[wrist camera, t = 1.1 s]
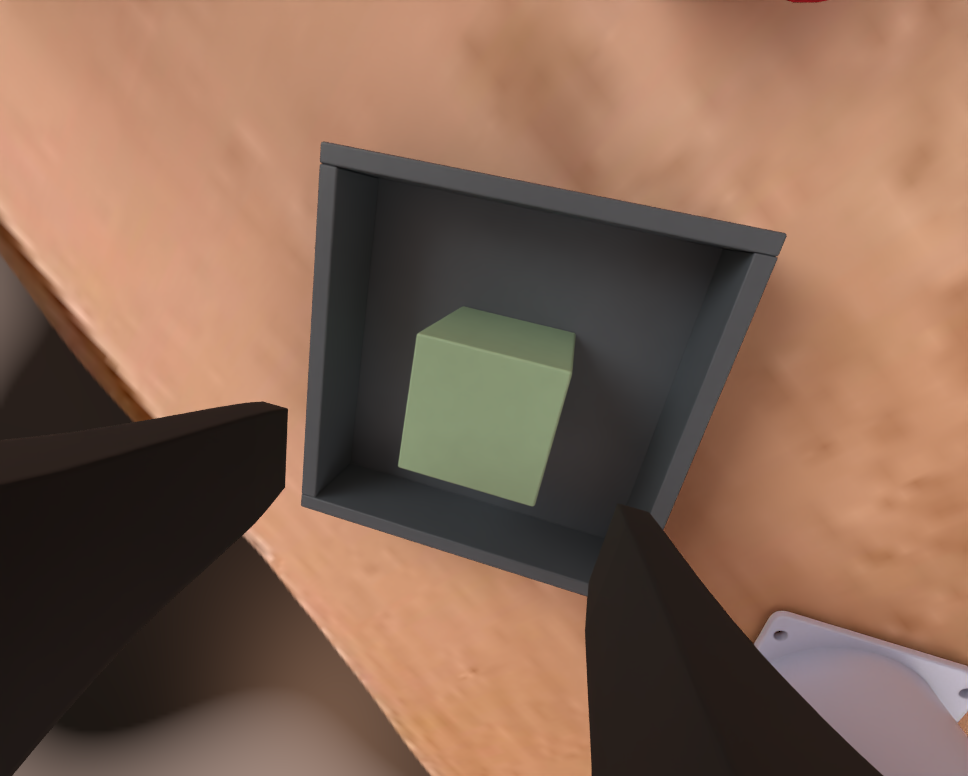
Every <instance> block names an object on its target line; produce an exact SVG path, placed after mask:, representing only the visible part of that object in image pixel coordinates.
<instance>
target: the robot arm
mask: <svg viewBox="0 0 968 776" xmlns="http://www.w3.org/2000/svg"><path fill="white" fill-rule="evenodd" d="M287 419H288V409H287V408H284V407H280V406H277V405H273V404H270V403H266V402H251V403H242V404H235V405H229V406H223V407H217V408H211V409H206V410H200V411H195V412H189V413H184V414H178V415H173V416H167V417H162V418H157V419H151V420H145V421H139V422H133V423H128V424H120V425H115V426H108V427H102V428H96V429H89V430H83V431H77V432H69V433H61V434H53V435H45V436H37V437H27V438H17V439H8V440H0V776H12V775H13V774H14V773H15V771H16V770H17V769H18V768H19V767H20V766H21V764H22V763H23V762H24V761H25V760H26V758H27V757H28V756H29V755H30V753H31V752H32V751H33V750H34V748H35V747H36V746H37V745H38V744H39V743H40V741H41V740H42V739H43V738H44V737H45V735H46V734H47V733H48V732H49V731H50V730H51V729H52V728H53V726H54V725H55V724H56V723H57V722H58V721H59V720H60V718H61V717H62V716H63V715H64V714H65V712H67V710H68V709H69V708H70V707H71V706H72V705H73V703H74V702H75V701H76V700H77V699H78V698H79V697H80V696H81V694H82V693H83V692H84V691H85V690H86V689H87V688H88V686H89V685H90V684H91V683H92V682H93V681H94V680H95V678H96V677H97V676H98V675H99V674H100V673H101V672H102V671H103V670H104V669H105V667H107V665H108V664H109V663H110V662H111V661H112V660H113V659H114V658H115V657H116V655H118V654H119V652H120V651H121V650H122V649H123V648H124V647H125V646H126V645H127V644H128V643H129V642H130V641H131V640H132V638H133V637H134V636H135V635H136V634H137V633H138V632H139V631H140V630H141V628H143V627H144V626H145V625H146V624H147V623H148V622H149V621H150V620H151V619H152V618H153V617H154V616H155V615H156V614H157V613H158V612H159V611H160V610H161V609H162V608H163V607H164V606H165V605H166V604H167V603H169V602H170V601H171V600H172V599H173V598H174V597H175V596H176V595H177V594H178V593H180V592H181V591H182V590H183V589H184V588H185V587H186V586H187V585H188V584H189V583H191V582H192V581H193V580H194V579H195V578H196V577H197V576H198V575H199V574H201V573H202V572H203V571H204V570H205V569H206V568H207V567H208V566H209V565H210V564H212V563H213V562H214V561H215V560H216V559H217V558H218V557H219V556H220V555H222V554H223V552H225V551H226V550H227V549H228V548H229V547H230V546H231V545H232V544H233V543H235V542H236V541H237V540H238V539H239V538H240V537H241V536H242V535H243V534H244V533H245V532H246V531H247V530H248V529H250V528H251V527H252V526H253V525H254V524H255V523H256V522H257V520H258V519H259V518H260V517H261V516H262V515H263V514H264V512H265V511H266V510H267V509H268V508H269V507H270V505H271V504H272V503H273V502H274V500H275V499H276V498H277V497H278V495H279V494H280V493H281V492H282V490H283V489H284V488H285V472H286V446H287ZM776 631H782V632H779V633H775V632H776ZM585 639H586V663H587V683H588V703H589V723H590V742H591V762H592V776H968V736H967V735H966V734H965V732H964V731H963V730H962V728H961V727H960V726H959V724H958V722H959V720H960V719H961V718H962V717H963V716H964V715H965V714H966V713H967V711H968V666H966V665H963V664H960V663H957V662H953V661H950V660H947V659H943V658H940V657H937V656H933V655H930V654H927V653H924V652H920V651H917V650H914V649H910V648H907V647H904V646H900V645H897V644H894V643H891V642H887V641H884V640H881V639H877V638H874V637H871V636H867V635H864V634H861V633H858V632H854V631H851V630H848V629H844V628H841V627H838V626H834V625H831V624H828V623H825V622H821V621H818V620H815V619H811V618H808V617H805V616H801V615H798V614H795V613H792V612H788V611H776V612H774V613H773V614H772V615H771V616H770V617H769V619H768V620H767V622H766V624H765V626H764V627H763V629H762V631H761V632H760V634H759V636H758V638H757V639H756V641H755V643H754V644H753V643H752V642H751V641H750V640H749V638H748V637H747V636H746V635H745V634H744V633H743V631H742V630H741V629H740V628H739V627H738V626H737V624H736V623H735V622H734V621H733V620H732V619H731V618H730V616H729V615H728V614H727V613H726V611H725V610H724V609H723V608H722V607H721V605H720V604H719V603H718V602H717V600H716V599H715V598H714V597H713V595H712V594H711V593H710V592H709V590H708V589H707V588H706V587H705V585H704V584H703V583H702V581H701V580H700V579H699V578H698V576H697V575H696V574H695V572H694V571H693V570H692V568H691V567H690V566H689V564H688V563H687V562H686V560H685V559H684V558H683V556H682V555H681V554H680V552H679V551H678V550H677V548H676V547H675V546H674V544H673V543H672V542H671V540H670V539H669V537H668V536H667V535H666V533H665V532H664V531H663V529H662V528H661V527H660V525H659V524H658V523H657V521H656V520H655V519H654V518H653V516H652V515H651V514H650V513H649V512H647V511H643V510H640V509H636V508H633V507H629V506H626V505H622V504H619V503H617V506H616V509H615V511H614V514H613V517H612V520H611V522H610V525H609V528H608V531H607V533H606V536H605V539H604V542H603V544H602V547H601V550H600V553H599V555H598V558H597V561H596V563H595V566H594V569H593V572H592V574H591V577H590V580H589V585H588V597H587V610H586V626H585Z"/></svg>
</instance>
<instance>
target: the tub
mask: <svg viewBox="0 0 968 776" xmlns="http://www.w3.org/2000/svg"><path fill="white" fill-rule="evenodd" d="M320 162H321V163H322V164H320V172H319V190H318V208H317V227H316V245H315V263H314V281H313V300H312V318H311V336H310V355H309V373H308V391H307V409H306V428H305V446H304V464H303V482H302V493H303V494H302V499H301V506H303V507H306V508H309V509H312V510H316V511H319V512H322V513H325V514H328V515H331V516H334V517H338V518H341V519H344V520H347V521H350V522H353V523H357V524H360V525H363V526H366V527H369V528H372V529H376V530H379V531H382V532H385V533H388V534H391V535H395V536H398V537H401V538H404V539H407V540H410V541H413V542H417V543H420V544H423V545H426V546H429V547H432V548H436V549H439V550H442V551H445V552H448V553H451V554H455V555H458V556H461V557H464V558H467V559H470V560H474V561H477V562H480V563H483V564H486V565H489V566H492V567H496V568H499V569H502V570H505V571H508V572H511V573H515V574H518V575H521V576H524V577H527V578H530V579H534V580H537V581H540V582H543V583H546V584H549V585H553V586H556V587H559V588H562V589H565V590H568V591H571V592H575V593H578V594H581V595H584V596H587V597H588V585H589V580H590V577H591V574H592V572H593V569H594V566H595V563H596V561H597V558H598V555H599V553H600V550H601V547H602V544H603V542H604V539H605V536H606V533H607V531H608V528H609V525H610V522H611V520H612V517H613V514H614V511H615V509H616V506H617V503H619V504H622V505H626V506H629V507H633V508H636V509H640V510H643V511H647V512H649V513H650V514H651V515H652V516H653V518H654V519H655V520H656V521H657V523H658V524H659V525H660V527H661V528H662V529H664V527H665V525H666V522H667V520H668V517H669V515H670V513H671V510H672V508H673V506H674V503H675V501H676V498H677V496H678V494H679V491H680V489H681V487H682V484H683V482H684V479H685V477H686V475H687V472H688V470H689V468H690V465H691V463H692V460H693V458H694V456H695V453H696V451H697V449H698V446H699V444H700V441H701V439H702V437H703V434H704V432H705V430H706V427H707V425H708V422H709V420H710V418H711V415H712V413H713V411H714V408H715V406H716V403H717V401H718V399H719V396H720V394H721V392H722V389H723V387H724V384H725V382H726V380H727V377H728V375H729V373H730V370H731V368H732V365H733V363H734V361H735V358H736V356H737V354H738V351H739V349H740V346H741V344H742V342H743V339H744V337H745V335H746V332H747V330H748V327H749V325H750V323H751V320H752V318H753V316H754V313H755V311H756V308H757V306H758V304H759V301H760V299H761V297H762V294H763V292H764V289H765V287H766V285H767V282H768V280H769V278H770V275H771V273H772V270H773V268H774V266H775V263H776V261H777V257H776V256H778V255H779V253H780V251H781V248H782V246H783V243H784V241H785V239H786V234H785V233H782V232H777V231H772V230H767V229H762V228H756V227H751V226H746V225H741V224H736V223H731V222H726V221H721V220H716V219H711V218H706V217H701V216H696V215H691V214H686V213H681V212H676V211H671V210H666V209H661V208H656V207H651V206H646V205H641V204H636V203H631V202H626V201H621V200H616V199H611V198H606V197H601V196H596V195H591V194H585V193H580V192H575V191H570V190H565V189H560V188H555V187H550V186H545V185H540V184H535V183H530V182H525V181H520V180H515V179H510V178H505V177H500V176H495V175H490V174H485V173H480V172H475V171H470V170H465V169H460V168H455V167H450V166H445V165H440V164H435V163H430V162H425V161H420V160H415V159H409V158H404V157H399V156H394V155H389V154H384V153H379V152H374V151H369V150H364V149H359V148H354V147H349V146H344V145H339V144H334V143H329V142H321V153H320ZM463 306H464V307H468V308H473V309H477V310H481V311H485V312H489V313H493V314H498V315H502V316H506V317H510V318H514V319H518V320H522V321H527V322H531V323H535V324H539V325H543V326H547V327H552V328H556V329H560V330H564V331H568V332H572V333H575V334H576V338H575V349H574V359H573V370H572V377H571V380H570V384H569V387H568V391H567V394H566V398H565V401H564V405H563V408H562V412H561V415H560V419H559V422H558V426H557V429H556V433H555V436H554V440H553V443H552V447H551V450H550V454H549V457H548V461H547V464H546V468H545V471H544V475H543V478H542V482H541V485H540V489H539V492H538V496H537V500H536V503H535V505H534V506H529V505H525V504H522V503H518V502H515V501H512V500H508V499H505V498H501V497H498V496H495V495H491V494H488V493H484V492H481V491H478V490H474V489H471V488H467V487H464V486H461V485H457V484H454V483H451V482H447V481H444V480H440V479H437V478H434V477H430V476H427V475H423V474H420V473H417V472H413V471H410V470H406V469H403V468H400V467H398V462H399V455H400V448H401V441H402V434H403V427H404V420H405V413H406V406H407V399H408V393H409V386H410V379H411V372H412V365H413V358H414V351H415V344H416V337H417V334H418V333H419V332H421V331H422V330H424V329H426V328H427V327H429V326H431V325H432V324H434V323H436V322H437V321H439V320H441V319H442V318H444V317H446V316H447V315H449V314H451V313H452V312H454V311H456V310H457V309H459V308H461V307H463Z"/></svg>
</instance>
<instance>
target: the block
mask: <svg viewBox="0 0 968 776" xmlns="http://www.w3.org/2000/svg"><path fill="white" fill-rule="evenodd" d="M575 338H576V334H575V333H572V332H568V331H564V330H560V329H556V328H552V327H547V326H543V325H539V324H535V323H531V322H527V321H522V320H518V319H514V318H510V317H506V316H502V315H498V314H493V313H489V312H485V311H481V310H477V309H473V308H468V307H464V306H463V307H461V308H459V309H457V310H456V311H454V312H452V313H451V314H449V315H447V316H446V317H444V318H442V319H441V320H439V321H437V322H436V323H434V324H432V325H431V326H429V327H427V328H426V329H424V330H422V331H421V332H419V333H418V334H417V337H416V344H415V351H414V358H413V365H412V372H411V379H410V386H409V393H408V399H407V406H406V413H405V420H404V427H403V434H402V441H401V448H400V455H399V462H398V467H400V468H403V469H406V470H410V471H413V472H417V473H420V474H423V475H427V476H430V477H434V478H437V479H440V480H444V481H447V482H451V483H454V484H457V485H461V486H464V487H467V488H471V489H474V490H478V491H481V492H484V493H488V494H491V495H495V496H498V497H501V498H505V499H508V500H512V501H515V502H518V503H522V504H525V505H529V506H534V505H535V503H536V500H537V496H538V492H539V489H540V485H541V482H542V478H543V475H544V471H545V468H546V464H547V461H548V457H549V454H550V450H551V447H552V443H553V440H554V436H555V433H556V429H557V426H558V422H559V419H560V415H561V412H562V408H563V405H564V401H565V398H566V394H567V391H568V387H569V384H570V380H571V377H572V370H573V359H574V349H575Z"/></svg>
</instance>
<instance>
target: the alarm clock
mask: <svg viewBox="0 0 968 776" xmlns="http://www.w3.org/2000/svg"><path fill="white" fill-rule="evenodd" d="M788 1H791V2H822V1H826V0H788Z"/></svg>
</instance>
